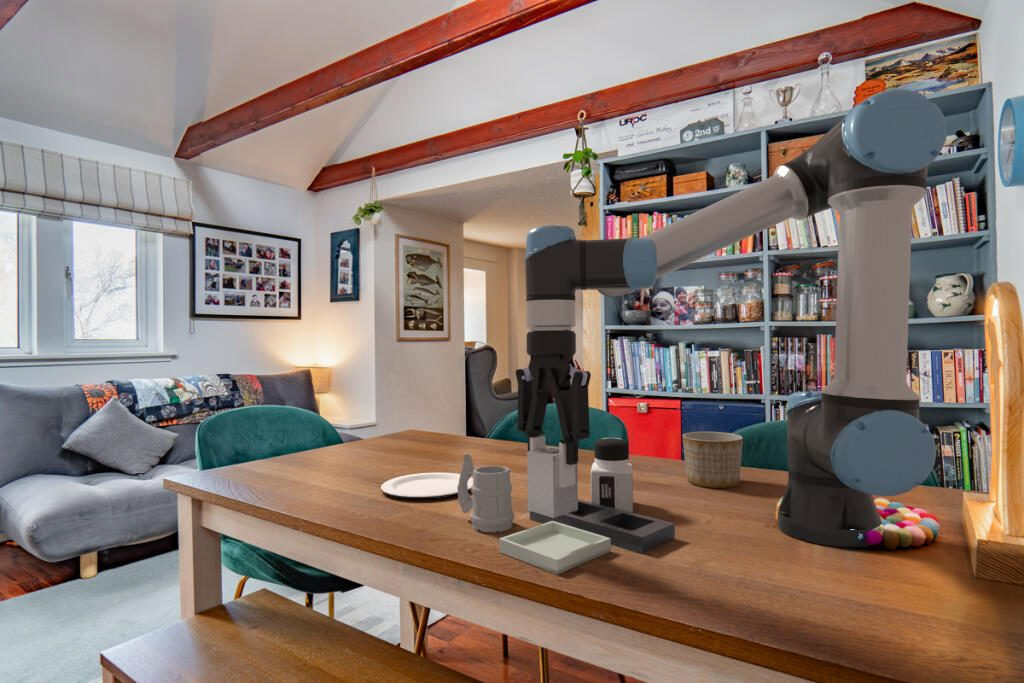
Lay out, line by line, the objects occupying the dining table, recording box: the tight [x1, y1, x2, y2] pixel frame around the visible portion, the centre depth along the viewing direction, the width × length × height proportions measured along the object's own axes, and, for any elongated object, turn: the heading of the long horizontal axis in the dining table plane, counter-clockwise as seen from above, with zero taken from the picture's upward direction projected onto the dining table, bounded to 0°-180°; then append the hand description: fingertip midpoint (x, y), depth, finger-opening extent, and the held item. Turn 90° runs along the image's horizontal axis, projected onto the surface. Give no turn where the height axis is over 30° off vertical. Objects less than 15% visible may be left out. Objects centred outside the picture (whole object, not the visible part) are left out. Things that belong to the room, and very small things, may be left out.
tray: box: [498, 521, 612, 575], centre depth 86 cm, size 12×12×2 cm
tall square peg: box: [526, 445, 579, 518], centre depth 86 cm, size 5×5×9 cm
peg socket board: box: [529, 498, 676, 555], centre depth 96 cm, size 24×9×2 cm, turn 43°
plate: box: [380, 472, 473, 499], centre depth 124 cm, size 21×21×2 cm
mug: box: [457, 452, 515, 533], centre depth 100 cm, size 8×12×12 cm, turn 52°
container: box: [589, 437, 634, 513], centre depth 109 cm, size 8×8×13 cm
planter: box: [682, 431, 744, 489], centre depth 125 cm, size 13×13×10 cm
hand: (552, 481), depth 86 cm, fingers closed on tall square peg, 5 cm apart
